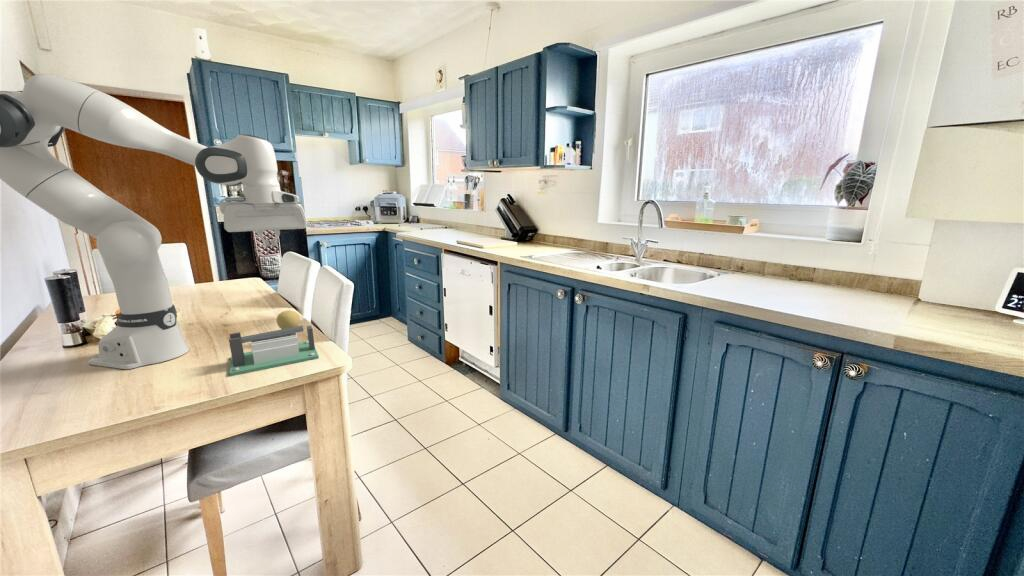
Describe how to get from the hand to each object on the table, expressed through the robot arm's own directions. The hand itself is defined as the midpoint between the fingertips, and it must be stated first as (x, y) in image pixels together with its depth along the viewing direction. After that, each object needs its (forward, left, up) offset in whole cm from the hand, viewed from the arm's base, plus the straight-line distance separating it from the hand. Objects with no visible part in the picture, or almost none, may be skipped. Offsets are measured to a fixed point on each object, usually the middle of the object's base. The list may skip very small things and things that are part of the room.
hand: (270, 246), depth 116 cm
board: (+2, -8, -31) cm, 32 cm away
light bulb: (-1, +5, -31) cm, 32 cm away
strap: (+2, -8, -24) cm, 26 cm away
